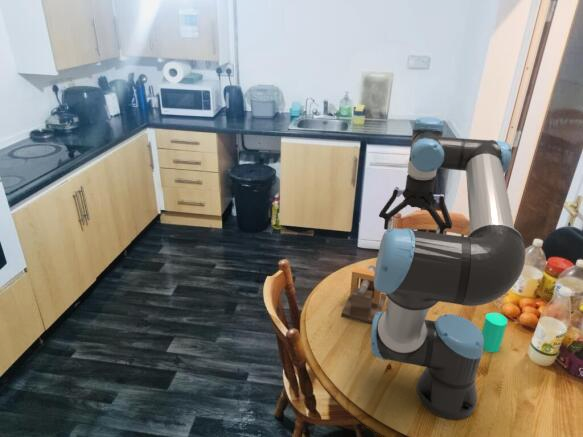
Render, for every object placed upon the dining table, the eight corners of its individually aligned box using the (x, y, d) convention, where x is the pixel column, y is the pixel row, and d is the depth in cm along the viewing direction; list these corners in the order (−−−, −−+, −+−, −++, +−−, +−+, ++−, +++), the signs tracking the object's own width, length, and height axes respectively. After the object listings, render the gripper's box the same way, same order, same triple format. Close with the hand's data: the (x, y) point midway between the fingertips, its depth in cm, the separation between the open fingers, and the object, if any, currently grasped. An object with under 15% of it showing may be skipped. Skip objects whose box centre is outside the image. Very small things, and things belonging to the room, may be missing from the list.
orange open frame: (379, 302, 143) (381, 277, 139) (350, 296, 147) (352, 271, 142) (380, 297, 146) (383, 273, 141) (352, 291, 149) (354, 267, 145)
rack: (376, 325, 139) (380, 294, 134) (341, 316, 143) (343, 286, 138) (386, 297, 153) (389, 269, 147) (353, 290, 157) (355, 261, 151)
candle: (498, 340, 133) (507, 309, 128) (501, 354, 128) (510, 322, 123) (477, 337, 134) (485, 306, 129) (479, 350, 129) (488, 318, 124)
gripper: (470, 177, 116) (456, 245, 125) (378, 165, 124) (372, 230, 133) (469, 186, 109) (455, 257, 119) (373, 173, 118) (366, 241, 127)
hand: (411, 243), depth 126 cm, fingers open, 13 cm apart
